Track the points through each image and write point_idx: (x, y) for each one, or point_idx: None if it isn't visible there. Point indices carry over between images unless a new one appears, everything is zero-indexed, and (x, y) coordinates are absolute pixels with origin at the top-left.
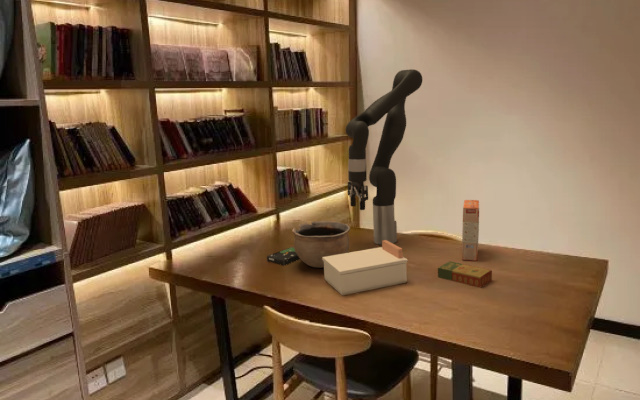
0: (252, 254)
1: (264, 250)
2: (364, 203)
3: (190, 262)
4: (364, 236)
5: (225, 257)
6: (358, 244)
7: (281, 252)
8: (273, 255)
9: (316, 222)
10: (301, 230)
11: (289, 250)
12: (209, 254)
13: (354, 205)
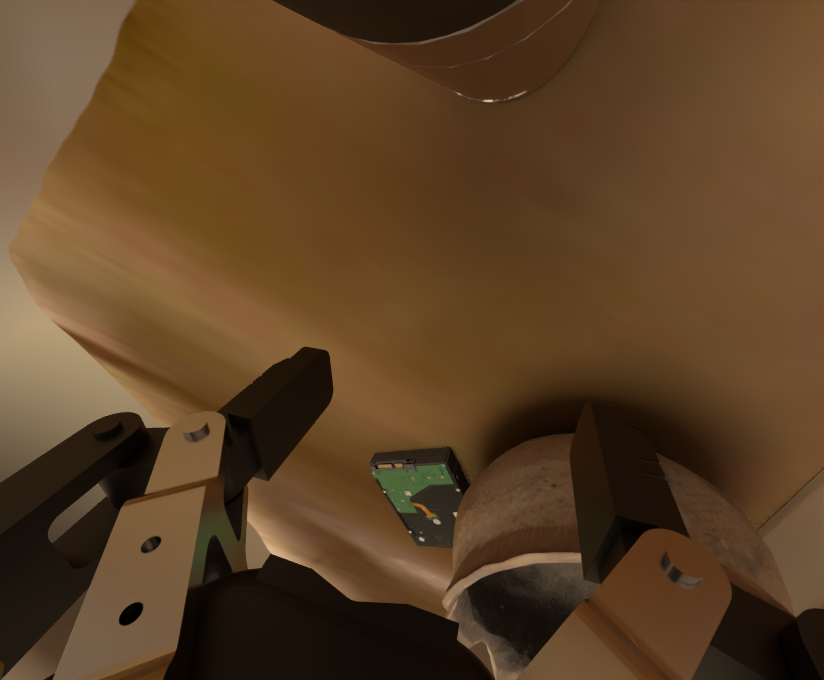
0: (346, 519)
1: (326, 489)
2: (674, 518)
3: (340, 591)
4: (307, 80)
5: (340, 553)
6: (437, 212)
7: (407, 512)
8: (418, 532)
9: (458, 595)
10: (478, 622)
11: (402, 492)
12: (303, 555)
13: (325, 366)
